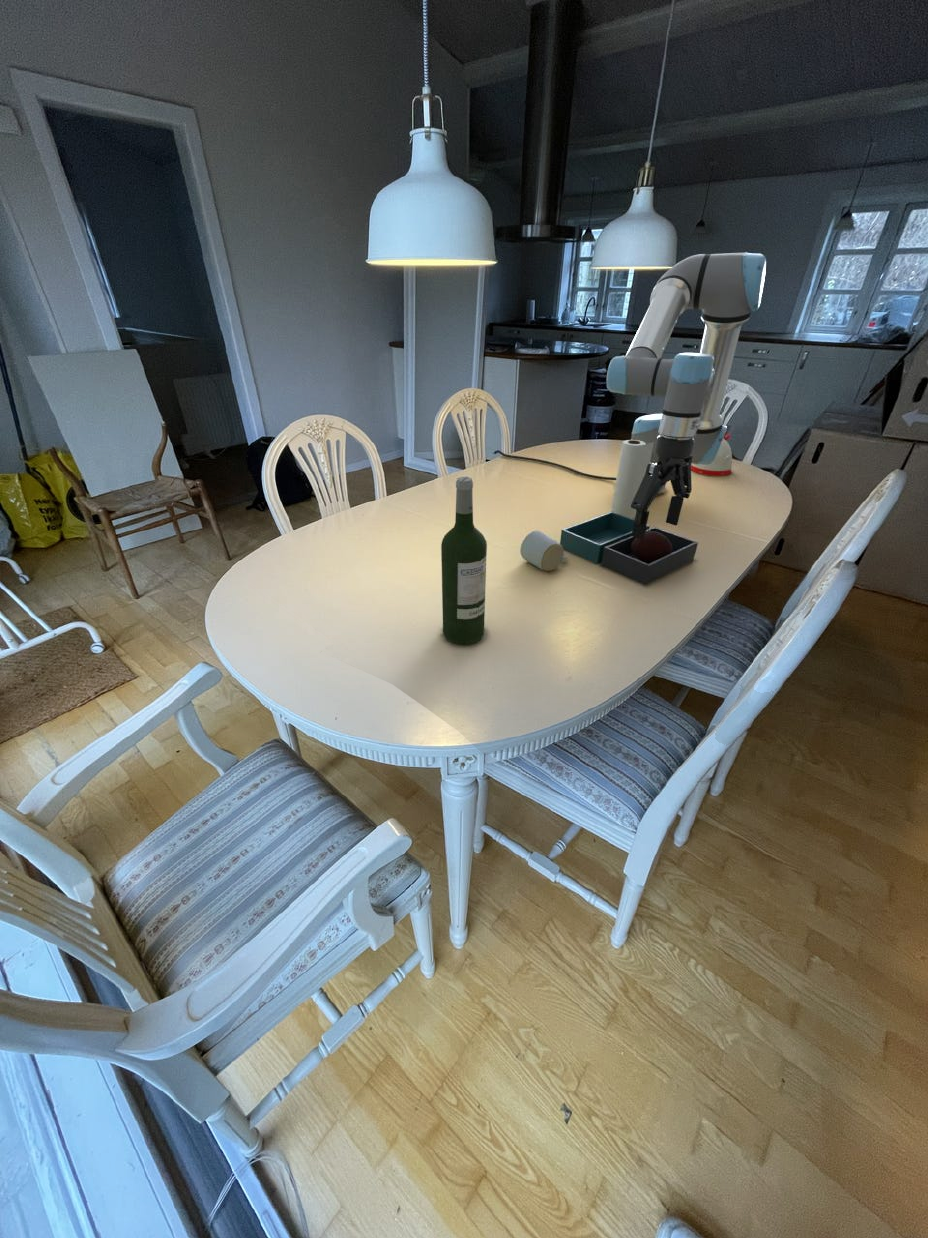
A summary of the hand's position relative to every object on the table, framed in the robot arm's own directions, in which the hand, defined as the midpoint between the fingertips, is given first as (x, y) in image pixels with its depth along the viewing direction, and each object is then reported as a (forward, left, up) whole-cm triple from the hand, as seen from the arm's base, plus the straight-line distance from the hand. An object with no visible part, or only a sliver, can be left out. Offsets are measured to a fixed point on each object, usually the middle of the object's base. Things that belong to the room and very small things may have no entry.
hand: (654, 530), depth 118 cm
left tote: (-14, 0, -9) cm, 16 cm away
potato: (0, 0, -8) cm, 8 cm away
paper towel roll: (-22, +20, -9) cm, 31 cm away
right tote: (0, 0, -9) cm, 9 cm away
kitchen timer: (-31, +85, -9) cm, 91 cm away
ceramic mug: (-15, -20, -9) cm, 26 cm away
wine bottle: (-4, -54, -9) cm, 55 cm away
